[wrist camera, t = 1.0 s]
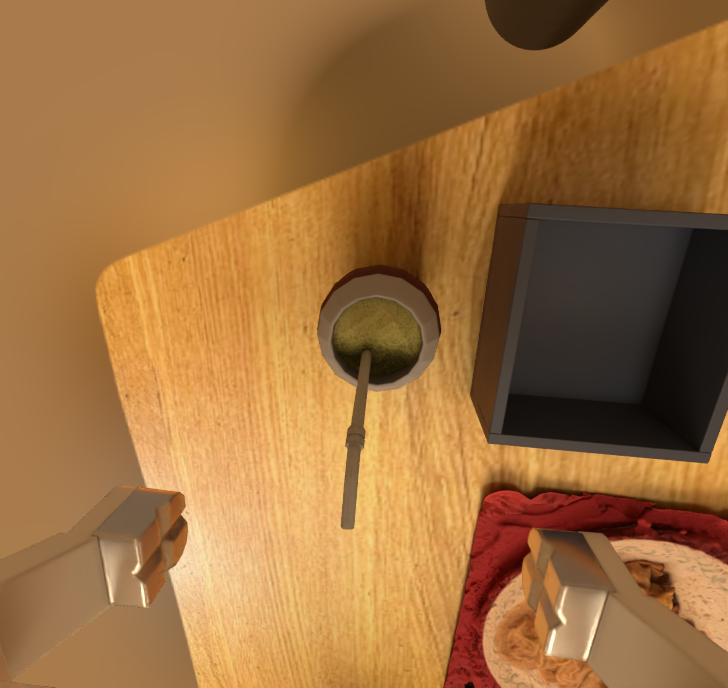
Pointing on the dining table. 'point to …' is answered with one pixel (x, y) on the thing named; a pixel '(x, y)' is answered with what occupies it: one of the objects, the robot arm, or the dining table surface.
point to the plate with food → (633, 545)
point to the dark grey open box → (605, 331)
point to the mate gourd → (375, 345)
